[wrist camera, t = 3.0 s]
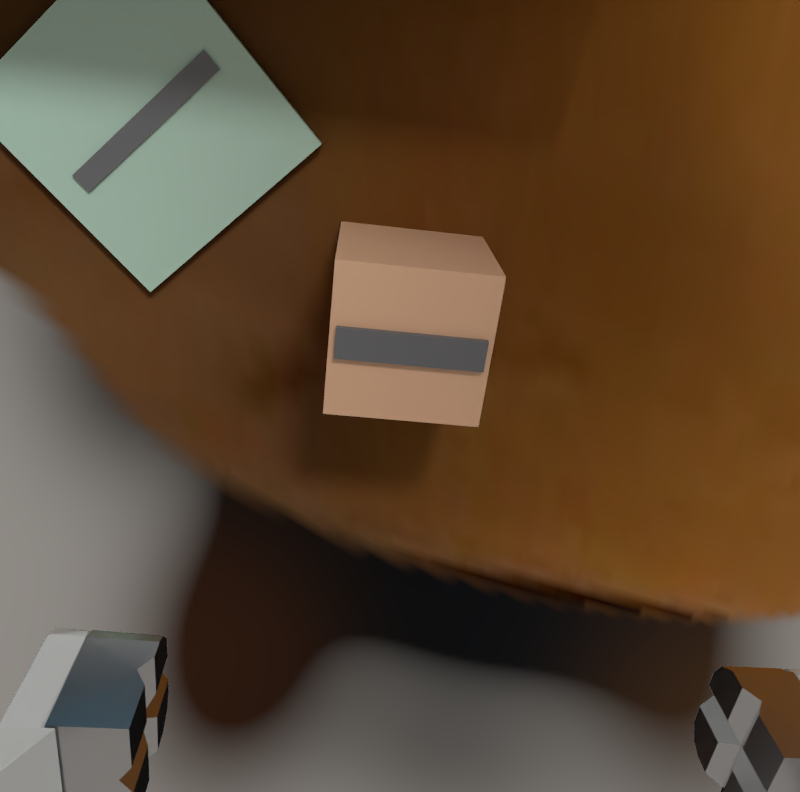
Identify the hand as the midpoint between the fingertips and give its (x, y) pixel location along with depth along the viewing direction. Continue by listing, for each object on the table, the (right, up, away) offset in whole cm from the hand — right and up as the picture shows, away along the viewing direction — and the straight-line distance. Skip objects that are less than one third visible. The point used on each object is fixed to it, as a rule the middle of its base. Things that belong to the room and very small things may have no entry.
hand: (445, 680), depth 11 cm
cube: (-1, +8, +16) cm, 18 cm away
